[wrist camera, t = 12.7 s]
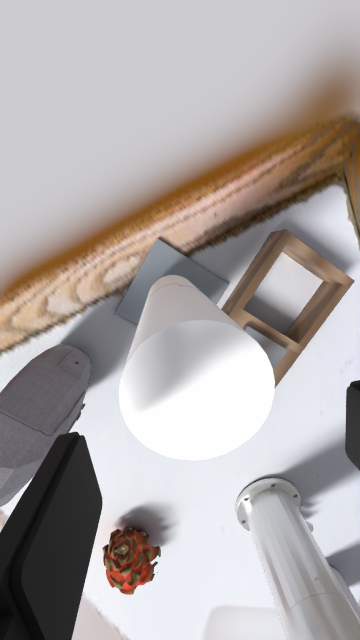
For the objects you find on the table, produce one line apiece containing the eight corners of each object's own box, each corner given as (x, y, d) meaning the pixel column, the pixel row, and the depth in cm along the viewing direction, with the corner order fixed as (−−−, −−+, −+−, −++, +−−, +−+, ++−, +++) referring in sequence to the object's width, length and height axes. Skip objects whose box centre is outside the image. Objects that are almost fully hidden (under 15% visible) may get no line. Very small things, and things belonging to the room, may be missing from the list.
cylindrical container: (191, 327, 37) (249, 468, 12) (143, 318, 36) (107, 450, 12) (202, 280, 35) (295, 337, 11) (153, 269, 34) (134, 304, 10)
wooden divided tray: (334, 278, 37) (395, 285, 28) (244, 402, 41) (270, 446, 32) (271, 232, 35) (314, 223, 25) (182, 369, 39) (190, 406, 29)
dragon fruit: (117, 504, 46) (152, 530, 51) (82, 554, 42) (124, 578, 47) (139, 533, 40) (177, 561, 45) (100, 596, 36) (147, 619, 40)
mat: (227, 283, 36) (229, 284, 35) (185, 350, 38) (185, 351, 37) (157, 238, 34) (157, 238, 33) (115, 312, 36) (114, 313, 35)
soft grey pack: (69, 325, 36) (-37, 406, 16) (117, 356, 37) (74, 462, 18) (15, 400, 38) (-133, 551, 18) (64, 426, 40) (-25, 588, 20)
